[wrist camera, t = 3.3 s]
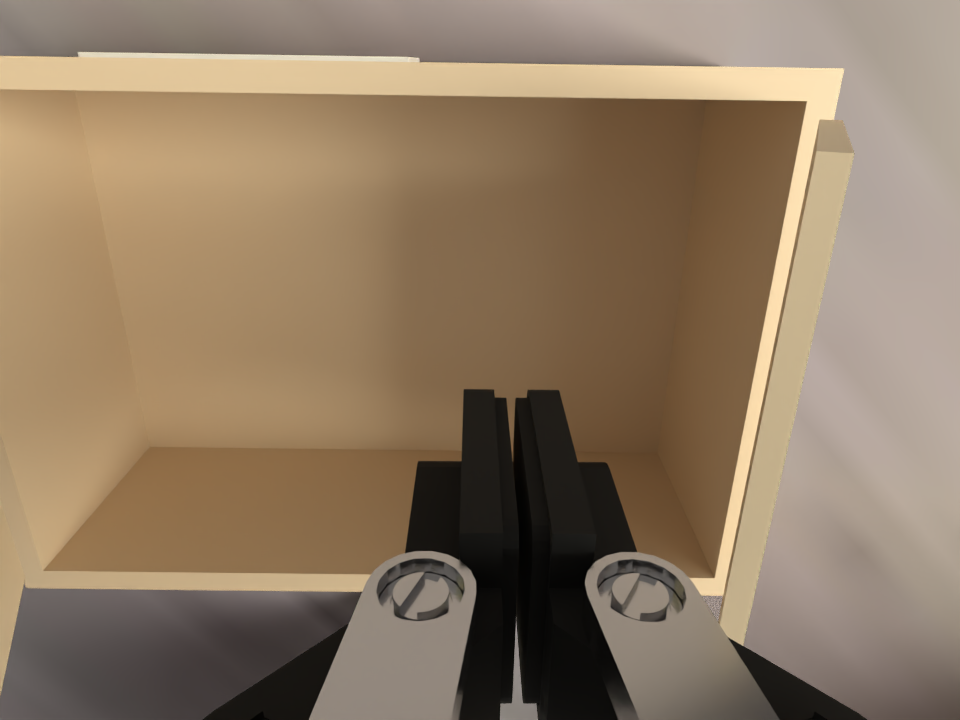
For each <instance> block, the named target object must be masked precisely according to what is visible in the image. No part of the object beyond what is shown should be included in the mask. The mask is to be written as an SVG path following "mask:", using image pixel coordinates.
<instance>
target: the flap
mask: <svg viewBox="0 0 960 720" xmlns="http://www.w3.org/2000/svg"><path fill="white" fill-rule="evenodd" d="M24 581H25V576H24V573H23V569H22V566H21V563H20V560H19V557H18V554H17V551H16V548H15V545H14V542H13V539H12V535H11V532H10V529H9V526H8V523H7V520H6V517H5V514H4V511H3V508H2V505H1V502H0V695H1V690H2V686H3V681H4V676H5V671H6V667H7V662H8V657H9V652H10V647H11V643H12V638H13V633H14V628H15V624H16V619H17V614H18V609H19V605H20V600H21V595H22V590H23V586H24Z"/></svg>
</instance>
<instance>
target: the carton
mask: <svg viewBox="0 0 960 720" xmlns="http://www.w3.org/2000/svg"><path fill="white" fill-rule="evenodd" d="M843 73H844V69H840V68H773V67H706V66H639V65H573V64H506V63H439V62H420V61H419V58H415V57H380V56H313V55H247V54H180V53H113V52H78V57H37V56H0V502H1V505H2V508H3V511H4V514H5V517H6V520H7V523H8V526H9V529H10V532H11V535H12V539H13V542H14V545H15V548H16V551H17V554H18V557H19V560H20V563H21V566H22V569H23V573H24V576H25V581H24V583H25V586H26V588H50V589H144V590H237V591H331V592H362V591H363V589H364V586H365V584H366V582H367V580H368V579H369V577H370V576H371V574H372V573H373V571H374V570H375V569H376V568H377V567H379V566H380V565H381V564H382V563H384V562H385V561H387V560H389V559H391V558H393V557H395V556H398V555H400V554H404V553H405V549H406V542H407V534H408V527H409V520H410V513H411V506H412V498H413V491H414V484H415V477H416V469H417V464H418V461H462V427H463V393H464V389H494V394H495V397H499V398H506V399H507V410H508V420H509V430H510V441H511V451H512V461H513V443H514V417H515V399H516V398H527V391H528V390H559V392H560V395H561V399H562V403H563V407H564V411H565V414H566V418H567V422H568V426H569V430H570V434H571V438H572V441H573V445H574V449H575V453H576V457H577V461H578V462H606V463H607V464H608V466H609V468H610V471H611V474H612V477H613V480H614V483H615V486H616V489H617V492H618V495H619V498H620V501H621V504H622V507H623V510H624V513H625V516H626V519H627V522H628V525H629V528H630V531H631V534H632V537H633V540H634V543H635V546H636V549H637V552H639V553H644V554H649V555H653V556H656V557H659V558H661V559H663V560H666V561H668V562H670V563H672V564H673V565H675V566H676V567H677V568H679V569H680V570H682V571H683V572H684V573H685V574H686V575H687V576H688V577H689V579H690V580H691V581H692V582H693V583H694V585H695V586H696V588H697V590H698V591H699V593H700V594H701V595H704V596H723V594H724V588H725V583H726V578H727V573H728V568H729V564H730V559H731V554H732V549H733V544H734V539H735V534H736V529H737V524H738V519H739V514H740V509H741V504H742V499H743V494H744V489H745V485H746V480H747V475H748V470H749V465H750V460H751V455H752V450H753V445H754V440H755V435H756V430H757V425H758V420H759V415H760V411H761V406H762V401H763V396H764V391H765V386H766V381H767V376H768V371H769V366H770V361H771V356H772V351H773V346H774V341H775V336H776V332H777V327H778V322H779V317H780V312H781V307H782V302H783V297H784V292H785V287H786V282H787V277H788V272H789V267H790V262H791V258H792V253H793V248H794V243H795V238H796V233H797V228H798V223H799V218H800V213H801V208H802V203H803V198H804V193H805V188H806V183H807V179H808V174H809V169H810V164H811V159H812V154H813V149H814V144H815V139H816V134H817V129H818V124H819V119H821V120H834V115H835V111H836V106H837V101H838V96H839V92H840V87H841V82H842V77H843Z"/></svg>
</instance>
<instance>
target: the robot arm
mask: <svg viewBox="0 0 960 720" xmlns="http://www.w3.org/2000/svg"><path fill="white" fill-rule="evenodd" d="M516 620H517V633H518V646H519V659H520V672H521V685H522V697H523V703H537V713H538V720H867V719H866V718H864V717H863V716H861V715H860V714H858V713H857V712H855V711H853V710H852V709H850V708H848V707H847V706H845V705H843V704H841V703H840V702H838V701H836V700H835V699H833V698H831V697H829V696H828V695H826V694H824V693H823V692H821V691H819V690H818V689H816V688H814V687H812V686H811V685H809V684H807V683H806V682H804V681H802V680H800V679H799V678H797V677H795V676H794V675H792V674H790V673H788V672H787V671H785V670H783V669H782V668H780V667H778V666H776V665H775V664H773V663H771V662H770V661H768V660H766V659H765V658H763V657H761V656H759V655H758V654H756V653H754V652H753V651H751V650H749V649H747V648H746V647H744V646H742V645H741V644H739V643H737V642H735V641H734V640H732V639H730V638H729V637H727V636H726V634H725V632H724V631H723V629H722V628H721V626H720V624H719V623H718V621H717V620H716V618H715V617H714V615H713V613H712V612H711V610H710V609H709V607H708V605H707V604H706V602H705V601H704V599H703V597H702V596H701V594H700V593H699V591H698V590H697V588H696V586H695V585H694V583H693V582H692V581H691V580H690V579H689V577H688V576H687V575H686V574H685V573H684V572H683V571H682V570H680V569H679V568H677V567H676V566H675V565H673V564H672V563H670V562H668V561H666V560H663V559H661V558H659V557H656V556H653V555H649V554H644V553H639V552H637V549H636V546H635V543H634V540H633V537H632V534H631V531H630V528H629V525H628V522H627V519H626V516H625V513H624V510H623V507H622V504H621V501H620V498H619V495H618V492H617V489H616V486H615V483H614V480H613V477H612V474H611V471H610V468H609V466H608V464H607V463H606V462H578V461H577V457H576V453H575V449H574V445H573V441H572V438H571V434H570V430H569V426H568V422H567V418H566V414H565V411H564V407H563V403H562V399H561V395H560V392H559V390H528V391H527V398H516V399H515V417H514V443H513V461H512V451H511V441H510V430H509V420H508V410H507V399H506V398H499V397H495V394H494V389H464V393H463V427H462V461H418V464H417V469H416V477H415V484H414V491H413V498H412V506H411V513H410V520H409V527H408V534H407V542H406V549H405V553H404V554H400V555H398V556H395V557H393V558H391V559H389V560H387V561H385V562H384V563H382V564H381V565H380V566H379V567H377V568H376V569H375V570H374V571H373V573H372V574H371V576H370V577H369V579H368V580H367V582H366V584H365V586H364V589H363V591H362V594H361V596H360V598H359V601H358V603H357V606H356V608H355V610H354V613H353V615H352V617H351V620H350V622H349V624H348V625H346V626H345V627H343V628H341V629H340V630H338V631H337V632H335V633H334V634H332V635H331V636H329V637H328V638H326V639H324V640H323V641H321V642H320V643H318V644H317V645H315V646H314V647H312V648H311V649H309V650H307V651H306V652H304V653H303V654H301V655H300V656H298V657H297V658H295V659H294V660H292V661H290V662H289V663H287V664H286V665H284V666H283V667H281V668H280V669H278V670H277V671H275V672H273V673H272V674H270V675H269V676H267V677H266V678H264V679H263V680H261V681H260V682H258V683H256V684H255V685H253V686H252V687H250V688H249V689H247V690H246V691H244V692H243V693H241V694H239V695H238V696H236V697H235V698H233V699H232V700H230V701H229V702H227V703H226V704H224V705H222V706H221V707H219V708H218V709H216V710H215V711H213V712H212V713H211V714H209V715H208V716H207V717H206V718H204V719H203V720H500V703H512V691H513V670H514V648H515V627H516Z"/></svg>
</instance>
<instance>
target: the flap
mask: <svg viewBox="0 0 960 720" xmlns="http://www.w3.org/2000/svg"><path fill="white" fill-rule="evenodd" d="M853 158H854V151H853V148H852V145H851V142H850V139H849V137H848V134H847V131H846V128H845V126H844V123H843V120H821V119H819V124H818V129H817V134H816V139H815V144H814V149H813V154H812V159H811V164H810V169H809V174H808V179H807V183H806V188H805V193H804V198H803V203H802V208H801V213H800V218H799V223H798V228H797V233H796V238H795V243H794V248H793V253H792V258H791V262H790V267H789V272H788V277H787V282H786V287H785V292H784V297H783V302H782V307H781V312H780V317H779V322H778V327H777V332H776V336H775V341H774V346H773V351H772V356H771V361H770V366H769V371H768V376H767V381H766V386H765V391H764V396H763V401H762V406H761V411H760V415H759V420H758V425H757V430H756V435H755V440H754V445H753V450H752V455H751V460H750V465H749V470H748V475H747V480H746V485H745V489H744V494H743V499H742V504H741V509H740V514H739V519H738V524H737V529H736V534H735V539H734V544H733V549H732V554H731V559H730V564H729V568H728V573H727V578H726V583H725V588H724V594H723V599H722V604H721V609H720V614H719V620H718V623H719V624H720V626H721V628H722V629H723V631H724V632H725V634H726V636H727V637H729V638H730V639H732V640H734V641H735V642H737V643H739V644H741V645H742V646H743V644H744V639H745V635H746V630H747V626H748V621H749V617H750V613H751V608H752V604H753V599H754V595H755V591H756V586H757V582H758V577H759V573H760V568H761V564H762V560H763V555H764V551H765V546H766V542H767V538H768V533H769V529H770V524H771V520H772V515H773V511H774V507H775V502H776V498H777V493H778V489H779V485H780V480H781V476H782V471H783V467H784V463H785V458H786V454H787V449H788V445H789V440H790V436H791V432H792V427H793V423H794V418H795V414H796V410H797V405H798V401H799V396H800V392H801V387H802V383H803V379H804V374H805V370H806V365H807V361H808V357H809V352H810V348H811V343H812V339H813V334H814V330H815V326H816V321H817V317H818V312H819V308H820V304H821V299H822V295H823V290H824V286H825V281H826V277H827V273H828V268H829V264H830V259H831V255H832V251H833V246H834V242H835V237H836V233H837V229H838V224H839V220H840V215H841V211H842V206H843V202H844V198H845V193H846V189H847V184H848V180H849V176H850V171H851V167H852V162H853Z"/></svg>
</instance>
